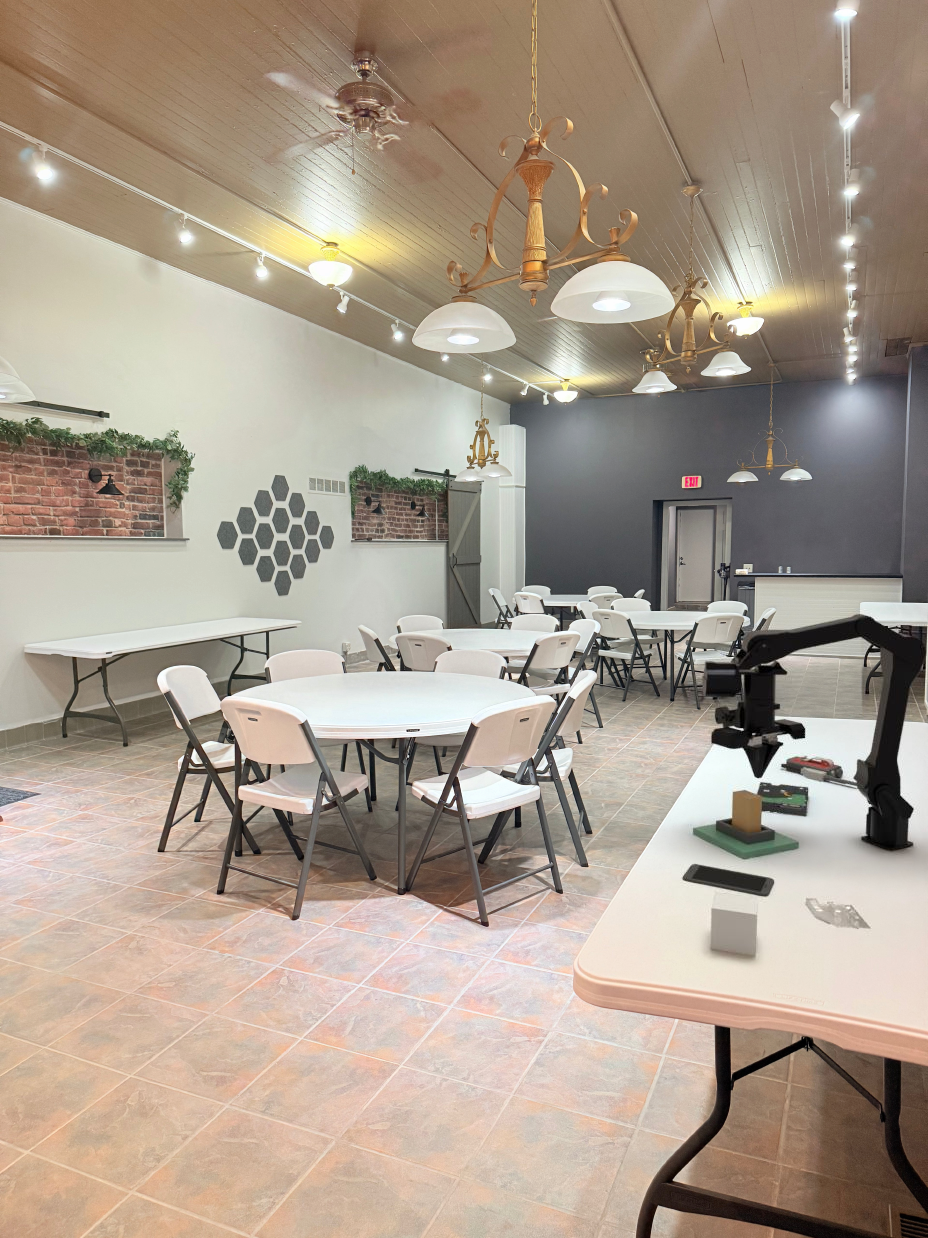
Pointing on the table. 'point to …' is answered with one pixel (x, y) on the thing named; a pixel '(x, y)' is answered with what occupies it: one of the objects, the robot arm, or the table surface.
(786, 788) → the disk drive
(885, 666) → the robot arm
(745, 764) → the table surface
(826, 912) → the stamped metal plate
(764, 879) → the cell phone
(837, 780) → the red and grey actuator
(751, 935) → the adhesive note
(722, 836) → the board
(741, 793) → the plug
